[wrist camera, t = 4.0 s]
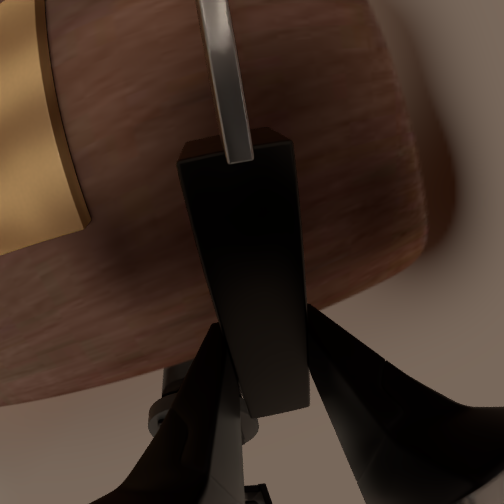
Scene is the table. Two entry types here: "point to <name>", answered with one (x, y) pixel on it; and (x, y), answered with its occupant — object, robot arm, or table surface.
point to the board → (32, 137)
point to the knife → (248, 233)
